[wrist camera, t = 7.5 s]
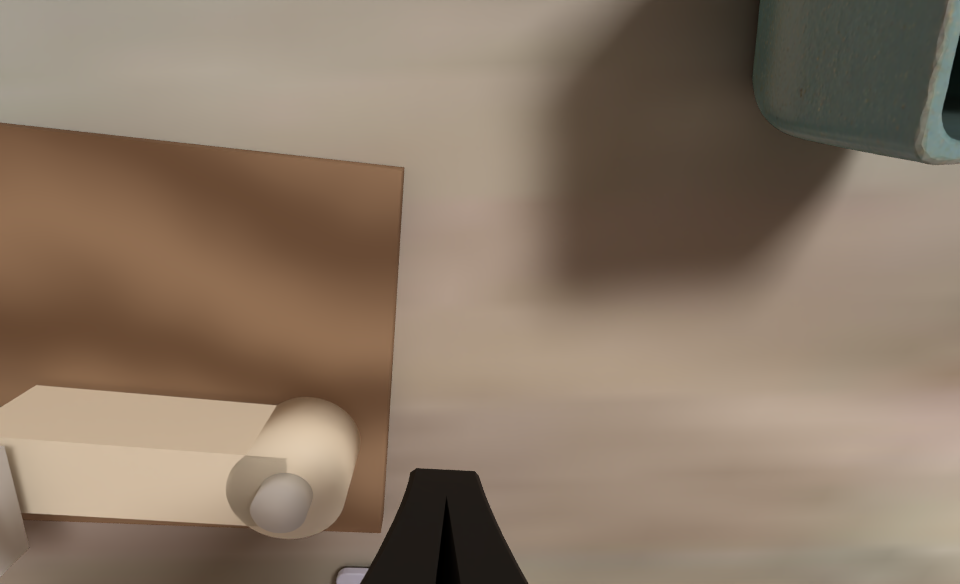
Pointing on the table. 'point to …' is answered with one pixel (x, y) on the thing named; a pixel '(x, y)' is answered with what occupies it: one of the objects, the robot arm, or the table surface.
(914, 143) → the flower pot
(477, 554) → the robot arm
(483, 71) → the table surface
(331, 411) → the link
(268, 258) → the hinge board
